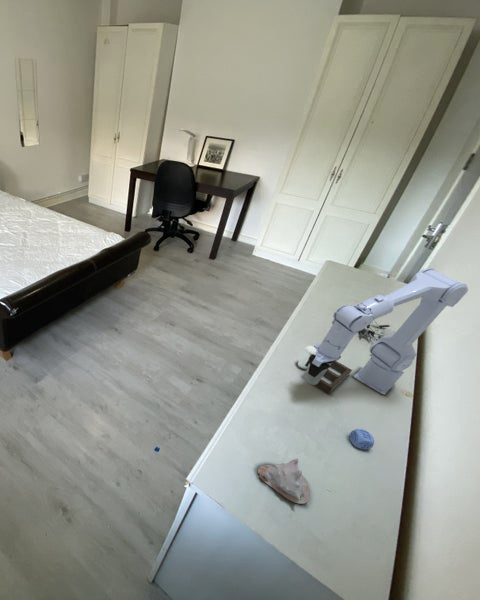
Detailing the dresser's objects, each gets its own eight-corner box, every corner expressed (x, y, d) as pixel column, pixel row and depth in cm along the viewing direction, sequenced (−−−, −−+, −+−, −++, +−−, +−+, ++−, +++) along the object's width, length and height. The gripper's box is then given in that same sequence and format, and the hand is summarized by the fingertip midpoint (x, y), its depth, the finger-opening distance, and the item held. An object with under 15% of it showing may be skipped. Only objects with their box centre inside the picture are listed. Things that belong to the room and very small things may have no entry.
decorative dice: (353, 447, 94) (360, 439, 91) (347, 435, 97) (354, 427, 95) (368, 451, 93) (376, 443, 91) (362, 438, 96) (370, 430, 94)
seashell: (311, 515, 78) (330, 497, 73) (258, 493, 82) (272, 475, 77) (305, 476, 86) (322, 457, 81) (257, 458, 90) (269, 439, 84)
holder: (348, 375, 117) (352, 370, 115) (328, 393, 110) (332, 388, 108) (323, 361, 123) (327, 355, 121) (303, 377, 115) (306, 372, 114)
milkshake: (313, 372, 118) (326, 352, 112) (297, 369, 118) (310, 349, 113) (309, 363, 121) (321, 343, 116) (293, 360, 122) (305, 341, 116)
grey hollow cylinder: (317, 387, 106) (333, 365, 100) (302, 381, 108) (316, 359, 102) (317, 378, 109) (332, 356, 103) (302, 372, 111) (316, 351, 105)
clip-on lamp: (359, 326, 146) (357, 337, 133) (365, 313, 144) (363, 323, 131) (393, 336, 139) (394, 349, 126) (400, 323, 137) (402, 335, 124)
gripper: (332, 326, 104) (313, 356, 112) (310, 342, 97) (292, 372, 105) (357, 338, 100) (335, 369, 107) (336, 356, 93) (314, 387, 101)
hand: (315, 371), depth 106 cm, fingers closed on grey hollow cylinder, 4 cm apart
